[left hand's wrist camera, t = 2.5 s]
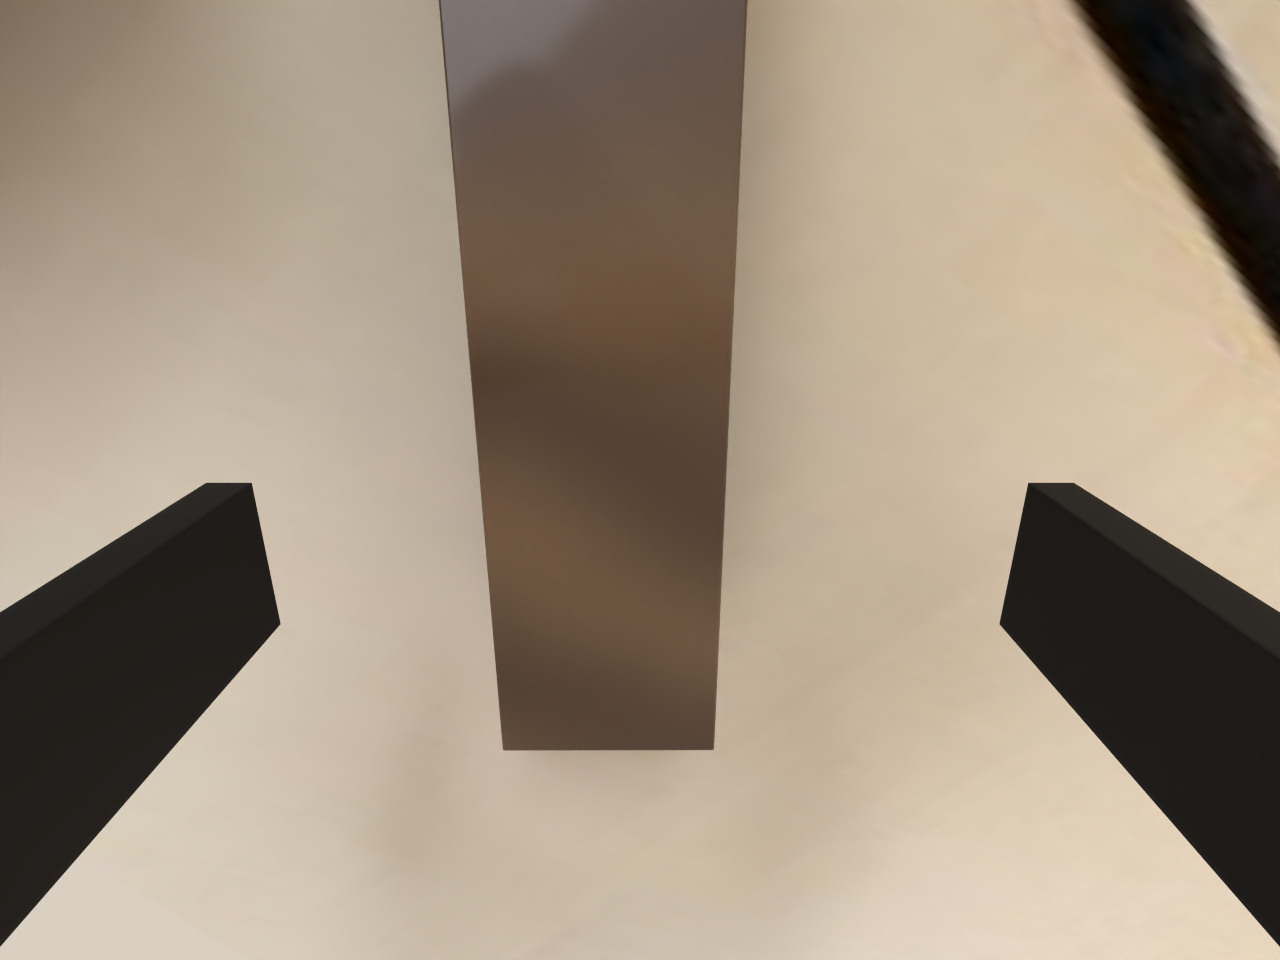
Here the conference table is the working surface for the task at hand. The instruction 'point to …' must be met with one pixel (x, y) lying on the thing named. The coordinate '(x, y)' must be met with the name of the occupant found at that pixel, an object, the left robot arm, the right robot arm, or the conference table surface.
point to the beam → (600, 351)
